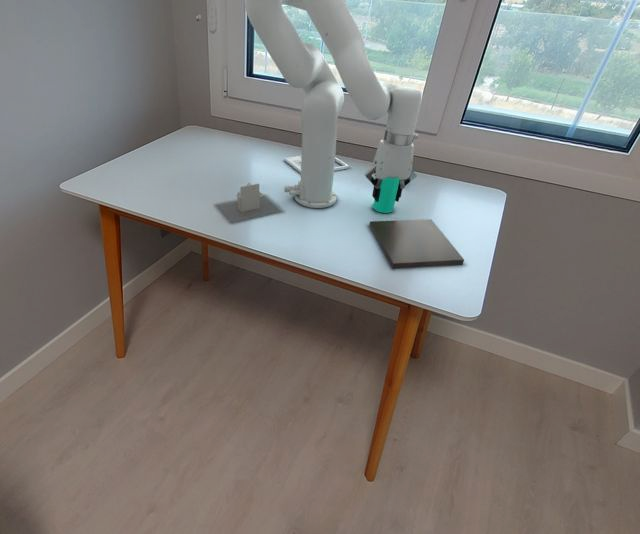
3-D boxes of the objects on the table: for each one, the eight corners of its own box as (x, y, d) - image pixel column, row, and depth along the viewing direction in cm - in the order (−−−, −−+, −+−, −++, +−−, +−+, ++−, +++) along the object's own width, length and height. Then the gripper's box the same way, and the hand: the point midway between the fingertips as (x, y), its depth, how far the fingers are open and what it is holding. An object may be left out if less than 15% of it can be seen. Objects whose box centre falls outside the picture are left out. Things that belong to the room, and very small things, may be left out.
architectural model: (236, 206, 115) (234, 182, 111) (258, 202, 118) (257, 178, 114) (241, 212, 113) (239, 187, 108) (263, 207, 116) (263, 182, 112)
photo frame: (284, 157, 145) (327, 151, 153) (284, 160, 146) (327, 154, 154) (304, 172, 135) (349, 165, 143) (304, 175, 136) (348, 168, 144)
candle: (392, 214, 117) (401, 175, 110) (371, 210, 118) (379, 171, 110) (393, 205, 122) (402, 167, 115) (373, 201, 122) (381, 163, 115)
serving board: (392, 268, 95) (393, 263, 94) (369, 226, 111) (369, 221, 110) (462, 264, 99) (464, 259, 98) (430, 223, 114) (431, 219, 114)
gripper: (423, 134, 112) (408, 193, 123) (363, 131, 109) (354, 193, 119) (434, 143, 106) (417, 205, 117) (371, 141, 103) (360, 205, 113)
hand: (385, 198), depth 118 cm, fingers closed on candle, 5 cm apart
